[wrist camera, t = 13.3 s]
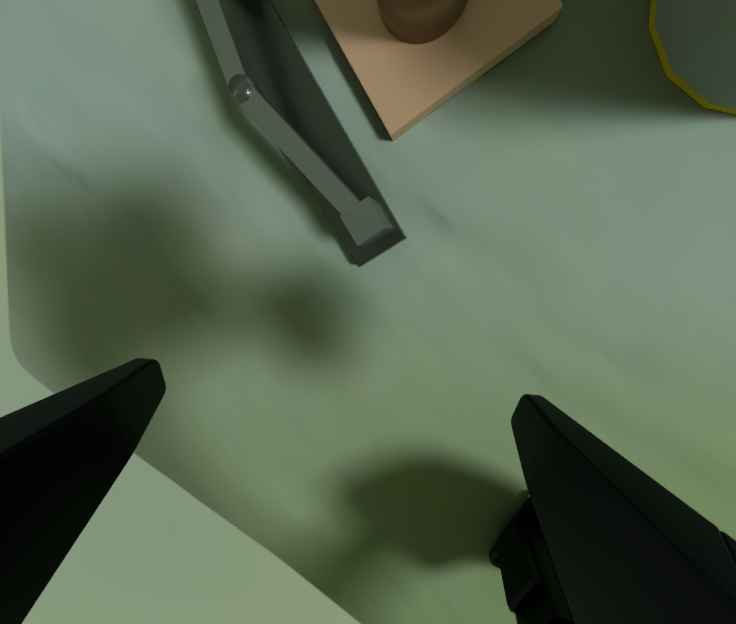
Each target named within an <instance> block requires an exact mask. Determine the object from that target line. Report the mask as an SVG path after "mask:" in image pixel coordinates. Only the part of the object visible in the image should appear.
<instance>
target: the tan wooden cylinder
mask: <svg viewBox="0 0 736 624" xmlns="http://www.w3.org/2000/svg"><path fill="white" fill-rule="evenodd" d="M467 2H468V0H377V4H378V8H379V12H380V16H381V18H382V21H383V23H384V25H385V27H386V28H387V29H388V31H389V32H390V33H391V34H392V35H393V36H394V37H396V38H397V39H399V40H400V41H402V42H405V43H409V44H425V43H428V42H432V41H434V40H436V39H438V38H439V37H441V36H443V35H444V34H445V33H446V32H448V31H449V30H450V29H451V28H452V27H453V26H454V25H455V23H456V22H457V21H458V19H459V18H460V16H461V15H462V13H463V11H464V9H465V7H466V5H467Z"/></svg>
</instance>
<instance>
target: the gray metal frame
mask: <svg viewBox="0 0 736 624" xmlns="http://www.w3.org/2000/svg"><path fill="white" fill-rule="evenodd" d="M196 2H197V5H198V7H199V10H200V13H201V15H202V18H203V21H204V23H205V26H206V29H207V32H208V34H209V37H210V40H211V42H212V45H213V48H214V50H215V53H216V56H217V58H218V61H219V64H220V67H221V69H222V72H223V75H224V77H225V80H226V83H227V85H228V93H229V96H230V98H231V100H232V101H233V102H235V103H236V104H238V105H239V106H241V107H242V108H243V109H244V110H245V112H246V113H247V114H248V115H249V116H250V117H251V118H252V119H253V120H254V121H255V122H256V123H257V124H258V126H259V127H260V128H261V129H262V130H263V131H264V132H265V133H266V134H267V135H268V136H269V137H270V138H271V139H272V141H273V142H274V143H275V144H276V145H277V146H278V147H279V148H280V149H281V150H282V151H283V152H284V153H285V155H286V156H287V157H288V158H289V159H290V160H291V161H292V162H293V163H294V164H295V165H296V166H297V167H298V168H299V170H300V171H301V172H302V173H303V175H304V177H305V178H306V180H307V182H308V183H309V185H310V187H311V188H312V190H313V192H314V193H315V195H316V197H317V198H318V200H319V202H320V203H321V205H322V207H323V208H324V210H325V212H326V214H327V215H328V217H329V219H330V220H331V222H332V224H333V225H334V227H335V229H336V230H337V232H338V234H339V235H340V237H341V239H342V240H343V242H344V244H345V245H346V247H347V249H348V250H349V252H350V254H351V255H352V257H353V259H354V260H355V262H356V264H357V266H358V267H360V266H363V265H364V264H366V263H367V262H369V261H371V260H372V259H374V258H376V257H377V256H379V255H380V254H382V253H384V252H385V251H387V250H388V249H390V248H392V247H393V246H395V245H396V244H398V243H400V242H401V241H403V240H404V239H406V236H405V234H404V233H403V231H402V229H401V227H400V226H399V224H398V222H397V220H396V219H395V217H394V215H393V214H392V212H391V210H390V208H389V207H388V205H387V203H386V201H385V200H384V198H383V196H382V194H381V193H380V191H379V189H378V187H377V186H376V184H375V182H374V180H373V179H372V177H371V175H370V173H369V172H368V170H367V168H366V166H365V165H364V163H363V161H362V159H361V158H360V156H359V154H358V152H357V151H356V149H355V147H354V146H353V144H352V142H351V140H350V139H349V137H348V135H347V133H346V132H345V130H344V128H343V126H342V125H341V123H340V121H339V119H338V118H337V116H336V114H335V112H334V111H333V109H332V107H331V105H330V104H329V102H328V100H327V98H326V97H325V95H324V93H323V91H322V90H321V88H320V86H319V84H318V83H317V81H316V79H315V78H314V76H313V74H312V72H311V71H310V69H309V67H308V65H307V64H306V62H305V60H304V58H303V57H302V55H301V53H300V51H299V50H298V48H297V46H296V44H295V43H294V41H293V39H292V37H291V36H290V34H289V32H288V30H287V29H286V27H285V25H284V23H283V22H282V20H281V18H280V16H279V15H278V13H277V11H276V10H275V8H274V6H273V4H272V3H271V1H270V0H196Z"/></svg>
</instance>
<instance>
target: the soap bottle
mask: <svg viewBox="0 0 736 624" xmlns="http://www.w3.org/2000/svg"><path fill="white" fill-rule="evenodd" d="M649 31H650V34H651V36H652V39H653V42H654V44H655V47H656V50H657V52H658V55H659V58H660V60H661V63H662V66H663V68H664V71H665V74H666V76H667V77H668V78H669V79H670V80H671V81H673V82H674V83H675V84H676V85H678V86H679V87H680V88H681V89H682V90H684V91H685V92H686V93H687V94H688V95H690V96H691V97H692V98H693V99H694V100H696V101H697V102H698V103H699V104H700V105H702V106H703V107H704V108H708V109H713V110H717V111H722V112H727V113H731V114H736V0H651V6H650V19H649Z"/></svg>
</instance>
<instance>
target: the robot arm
mask: <svg viewBox="0 0 736 624" xmlns="http://www.w3.org/2000/svg"><path fill="white" fill-rule="evenodd" d="M165 390H166V384H165V381H164V377H163V374H162V371H161V367H160V364H159V362H158V361H157V360H154V359H145V358H138V359H134V360H132V361H130V362H127V363H125V364H123V365H121V366H118V367H116V368H114V369H111V370H109V371H107V372H104V373H102V374H100V375H97V376H95V377H93V378H91V379H88V380H86V381H84V382H81V383H79V384H77V385H74V386H72V387H70V388H67V389H65V390H63V391H61V392H58V393H56V394H54V395H51V396H49V397H47V398H44V399H42V400H40V401H37V402H35V403H33V404H31V405H28V406H26V407H24V408H21V409H19V410H17V411H14V412H12V413H10V414H7V415H5V416H3V417H1V418H0V624H22V622H23V620H24V619H25V617H26V616H27V615H28V613H29V611H30V610H31V608H32V607H33V605H34V604H35V602H36V601H37V599H38V598H39V596H40V595H41V593H42V591H43V590H44V589H45V587H46V586H47V584H48V583H49V581H50V579H51V578H52V576H53V575H54V573H55V572H56V570H57V569H58V567H59V566H60V564H61V563H62V561H63V560H64V558H65V557H66V555H67V554H68V552H69V551H70V549H71V547H72V546H73V544H74V543H75V541H76V540H77V538H78V537H79V535H80V534H81V532H82V531H83V529H84V528H85V526H86V525H87V523H88V521H89V520H90V519H91V517H92V515H93V514H94V512H95V511H96V509H97V508H98V506H99V505H100V503H101V502H102V500H103V499H104V497H105V496H106V494H107V493H108V491H109V489H110V488H111V487H112V485H113V483H114V482H115V480H116V479H117V477H118V476H119V474H120V473H121V471H122V470H123V468H124V466H125V465H126V464H127V462H128V460H129V459H130V457H131V456H132V454H133V452H134V451H135V449H136V447H137V445H138V443H139V442H140V440H141V438H142V436H143V434H144V432H145V430H146V428H147V426H148V424H149V423H150V421H151V419H152V417H153V415H154V413H155V411H156V409H157V407H158V405H159V404H160V402H161V400H162V398H163V396H164V393H165ZM511 425H512V430H513V434H514V438H515V442H516V446H517V450H518V454H519V458H520V462H521V466H522V470H523V474H524V478H525V482H526V485H527V488H528V491H529V494H530V497H529V498H528V499H527V501H526V502H525V503H524V505H523V506H522V508H521V509H520V510H519V512H518V513H517V515H516V516H515V517H514V518H512V519H511V521H510V522H509V524H508V525H507V526H506V528H505V529H504V531H503V532H502V533H501V535H500V536H499V538H498V539H497V540H496V542H495V543H496V544H495V545H494V546H493V548H492V549H491V551H490V552H489V558H490V562H491V564H493V565H494V566H496V567H498V568H500V569H501V574H502V580H503V585H504V590H505V595H506V600H507V605H508V607H509V610H510V611H511V612H513V613H515V616H516V621H517V624H736V541H735V540H734V539H733V538H731V537H730V536H729V535H727V534H726V533H725V532H722V531H719V529H718V527H716V526H715V525H714V524H712V523H711V522H710V521H708V520H707V519H706V518H704V517H703V516H702V515H700V514H699V513H698V512H696V511H695V510H694V509H692V508H691V507H690V506H688V505H687V504H686V503H684V502H683V501H682V500H680V499H679V498H678V497H676V496H675V495H674V494H672V493H671V492H670V491H668V490H667V489H666V488H664V487H663V486H662V485H660V484H659V483H658V482H656V481H655V480H654V479H652V478H651V477H650V476H648V475H647V474H646V473H644V472H643V471H641V470H640V469H639V468H637V467H636V466H635V465H633V464H632V463H631V462H629V461H628V460H627V459H625V458H624V457H623V456H621V455H620V454H619V453H617V452H616V451H615V450H613V449H612V448H611V447H609V446H608V445H607V444H605V443H604V442H603V441H601V440H600V439H599V438H597V437H596V436H595V435H593V434H592V433H591V432H589V431H588V430H587V429H585V428H584V427H583V426H581V425H580V424H579V423H577V422H576V421H575V420H573V419H572V418H571V417H569V416H568V415H567V414H565V413H564V412H563V411H561V410H560V409H559V408H557V407H556V406H555V405H553V404H552V403H551V402H549V401H548V400H546V399H545V398H544V397H542V396H540V395H531V394H525V395H523V396H522V397H521V398H520V400H519V402H518V405H517V407H516V409H515V411H514V413H513V415H512V419H511Z"/></svg>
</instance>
